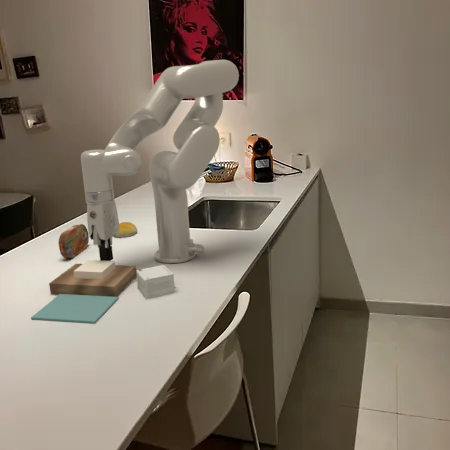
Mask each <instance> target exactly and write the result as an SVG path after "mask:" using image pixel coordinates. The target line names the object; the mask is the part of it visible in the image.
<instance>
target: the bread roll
mask: <svg viewBox="0 0 450 450" xmlns="http://www.w3.org/2000/svg"><path fill="white" fill-rule="evenodd" d="M119 228H120V229H119V231H118V232H117V233H116V234H115V235H113V237H114V238H117V239H121V238H122V237H124V238H128V237H132V236H134V235H135V234H136V233H137V232H138V228H137V226H136V225H135V224H134V223H133V222H129V221H124V222H119ZM122 239H123V238H122Z"/></svg>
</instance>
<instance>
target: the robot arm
mask: <svg viewBox="0 0 450 450" xmlns="http://www.w3.org/2000/svg"><path fill="white" fill-rule="evenodd" d="M239 73H240V72H239V70H238V68H237V66H236V64H234V63H233V62H232V61H230V60H227V59H213V60H205V61H202V62H199V63H198V64H190V65H188V64H187V65H175V66H170V67H167V68H166V69H165V70H164V71H162V73H161V74H160V76H159V77H158V78H157V80H156V81H155V83H154V84H153V86H152V88H151V89H150V91H149V92H148V94H147V95H146V97H145V98H144V99H143V101H142V103H141V104H140V105H139V107H138V108H137V109H136V110H135V111H134V112H133V113H132V114H131V115H129V118H127V119H126V120H125V121H124V122H123V124H121V126H120V127H118V129H117V130H116V132H115V133H114V135H113V136H112V137H111V139H110V140H109V142H108V144H107V145H106V147H105V148H104V149H89V150H84V151H83V152H81V154H80V164H81V171H82V180H83V182H82V183H83V188H84V197H85V203H86V219H87V221H86V222H87V230H88V235H89V240H92V241H93V246H97V248H98V253H99V254H98V255H99V260H100V261H113V259H114V254H113V253H114V252H113V237H114V236H113V235H115V234H116V233H117V232H118V231H119V229H120V228H119V224H120V221H119V215H118V209H117V204H116V201H115V194H114V193H115V192H114V184H113V177H115V176H116V177H119V176H120V177H121V176H123V177H126V176H127V177H129V176H133V175H135V174H137V173H138V172H139V171H140V170H141V168H142V165H143V160H142V156H141V154H140V153H139V152H138V151H137V150H136V149H137V147H138V146H139V145H140V144H141V143H142V142H143V141H144V140H145V139H146V138H147V137H149V136H150V135H153V134H155V133H157V132H159V131H161V130H162V129H163V128H164V127H165V126H166V125H167V124H168V122H169V120H170V119H171V118H172V116H173V114H174V113H175V111H176V109H177V108H178V107H179V106H180V104H181V102H182V101H183V100H184V99H185V100H186V99H189V100H190V99H195V101H194V103H193V104H192V106H191V108H190V109H189V111H188V112H187V114H186V115H185V117H184V118H183V119H182V121H181V122H180V124H179V125H178V126H177V128H176V129H175V131H174V134H173V137H172V142H173V144H174V147H175V148H176V149H177V150H178V151H177V152H176V151H170V150H164V151H159V152H157V153H156V154H154V155H153V156H152V158H151V159H150V162H149V165H148V170H149V178H150V183H151V186H152V191H153V196H154V197H153V198H154V210H155V221H156V231H157V241H158V250H156V251H155V252H154V254H153V256H154V260H155V261H157V262H159V263H163V264H178V263H185V262H188V261H190V260H193V259H194V258H195V257H196V256H197V253H199V254H204V253H205V246H203V244H201V243H198V244H197V243H196V244H195V243H194V239H193V238H191V235H190V233H191V232H190V221H189V207H188V205H189V203H188V195H187V190H188V189H190V188H191V187H193V186H194V185H195V184H196V183H197V182H198V180H199V179H200V177H201V176H202V175H203V173H204V172H205V171H206V169H207V168H208V165H210V163H211V161H212V160H213V158H214V157H215V155H216V154H217V152H218V150H219V147H220V139H221V138H220V137H221V136H220V133H219V131H218V129H217V128H216V127H215V126H216V125H217V123H218V121H219V119H221V116H222V112H223V110H224V99H223V98H224V97H223V94H224V93H226V92H229V91H232V90H233V89H234V88H235V86H237V85H238V82H239V77H240V74H239Z"/></svg>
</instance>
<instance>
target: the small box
mask: <svg viewBox="0 0 450 450" xmlns="http://www.w3.org/2000/svg"><path fill="white" fill-rule="evenodd" d="M136 274H137V276H136V282H137V289H138V290H139V291H140V292H141V294H142V295H143V296H144V298H145V299H150V298H154V297H160V296H163V295H167V294H173V293H176V292H175V291H176V290H175V278H174V273H173V272H172V271H171V270H170V269H169V268H168V267H167V266H166V265H164V264H162V265H161V264H159V265H156V266H152V267H145V268H141V269H136Z"/></svg>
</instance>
